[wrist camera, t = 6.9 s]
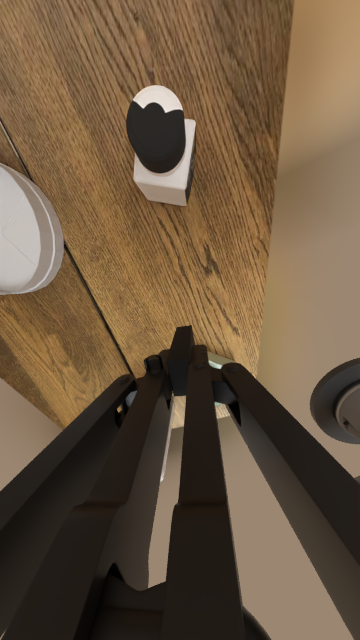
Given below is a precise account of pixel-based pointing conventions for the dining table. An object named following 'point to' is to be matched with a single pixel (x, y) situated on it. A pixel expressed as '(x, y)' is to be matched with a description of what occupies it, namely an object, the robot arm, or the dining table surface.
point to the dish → (27, 235)
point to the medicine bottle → (162, 145)
